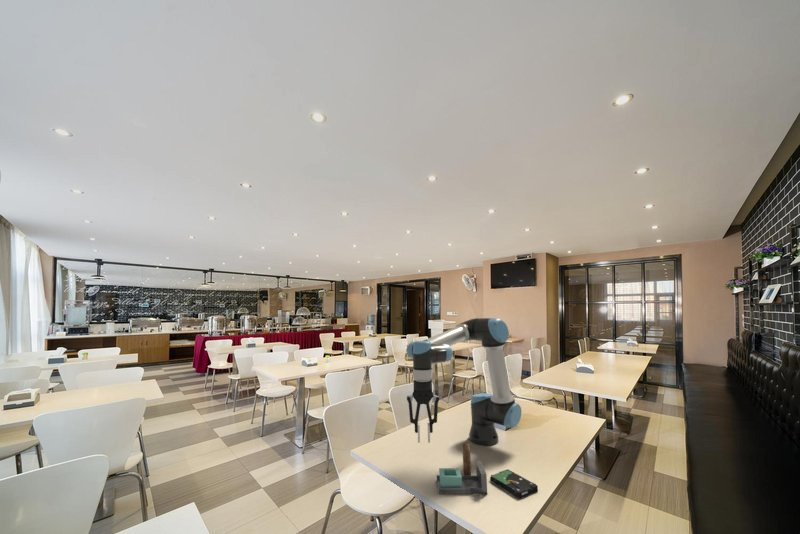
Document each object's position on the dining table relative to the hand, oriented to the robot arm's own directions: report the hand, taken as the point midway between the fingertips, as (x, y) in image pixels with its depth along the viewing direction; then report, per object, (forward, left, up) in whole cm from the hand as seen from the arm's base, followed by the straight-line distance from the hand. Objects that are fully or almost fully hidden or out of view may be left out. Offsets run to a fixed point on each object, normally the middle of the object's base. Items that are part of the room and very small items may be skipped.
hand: (423, 441), depth 126 cm
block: (-10, 0, -15) cm, 18 cm away
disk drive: (-34, -1, -17) cm, 39 cm away
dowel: (-18, -9, -17) cm, 26 cm away
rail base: (-14, 0, -17) cm, 22 cm away
